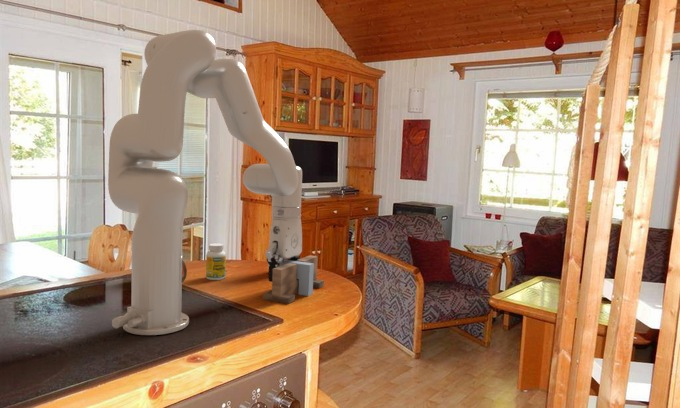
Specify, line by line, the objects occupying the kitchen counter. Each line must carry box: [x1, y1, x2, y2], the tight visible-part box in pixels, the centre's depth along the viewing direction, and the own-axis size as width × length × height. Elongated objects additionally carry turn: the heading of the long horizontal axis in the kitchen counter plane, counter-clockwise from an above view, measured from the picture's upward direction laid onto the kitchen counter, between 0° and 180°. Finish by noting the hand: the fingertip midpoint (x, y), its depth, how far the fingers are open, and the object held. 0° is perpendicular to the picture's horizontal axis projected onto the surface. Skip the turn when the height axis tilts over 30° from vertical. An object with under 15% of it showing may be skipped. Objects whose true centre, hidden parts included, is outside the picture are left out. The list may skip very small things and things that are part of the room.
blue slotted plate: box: [276, 259, 314, 297], centre depth 132 cm, size 10×2×8 cm, turn 67°
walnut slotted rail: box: [263, 254, 325, 305], centre depth 132 cm, size 20×7×8 cm, turn 157°
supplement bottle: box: [205, 242, 227, 281], centre depth 143 cm, size 5×5×10 cm
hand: (283, 277), depth 133 cm, fingers open, 9 cm apart
